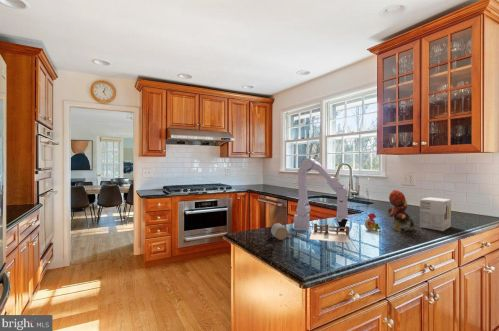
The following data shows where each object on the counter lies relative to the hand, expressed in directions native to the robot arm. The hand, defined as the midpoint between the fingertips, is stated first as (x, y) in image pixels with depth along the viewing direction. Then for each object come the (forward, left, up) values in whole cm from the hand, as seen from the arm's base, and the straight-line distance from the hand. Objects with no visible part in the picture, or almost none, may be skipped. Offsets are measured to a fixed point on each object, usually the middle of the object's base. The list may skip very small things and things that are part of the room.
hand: (342, 231), depth 154 cm
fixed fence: (-12, -1, -1) cm, 12 cm away
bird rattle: (+17, +15, -2) cm, 23 cm away
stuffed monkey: (+35, +24, -2) cm, 43 cm away
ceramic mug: (-32, -18, -2) cm, 36 cm away
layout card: (-7, -6, -2) cm, 9 cm away
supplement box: (+57, +37, -2) cm, 68 cm away
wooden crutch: (-2, -1, -1) cm, 2 cm away
